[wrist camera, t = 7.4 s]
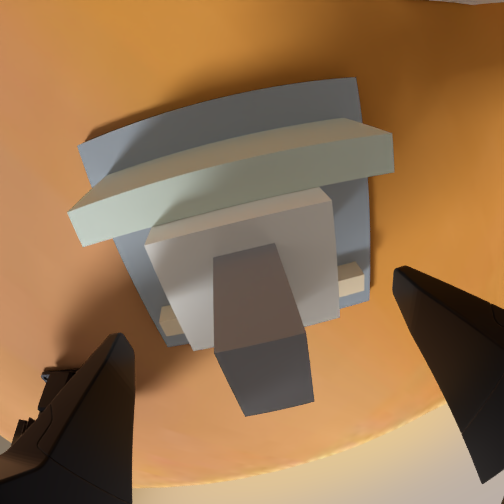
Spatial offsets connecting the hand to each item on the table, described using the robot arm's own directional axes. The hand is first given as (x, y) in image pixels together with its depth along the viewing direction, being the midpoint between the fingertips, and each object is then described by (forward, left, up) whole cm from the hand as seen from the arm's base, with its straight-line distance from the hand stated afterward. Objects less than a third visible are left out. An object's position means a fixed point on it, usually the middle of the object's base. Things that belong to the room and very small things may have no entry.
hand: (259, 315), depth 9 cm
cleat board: (-1, 0, -8) cm, 8 cm away
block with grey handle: (0, 0, -8) cm, 8 cm away
